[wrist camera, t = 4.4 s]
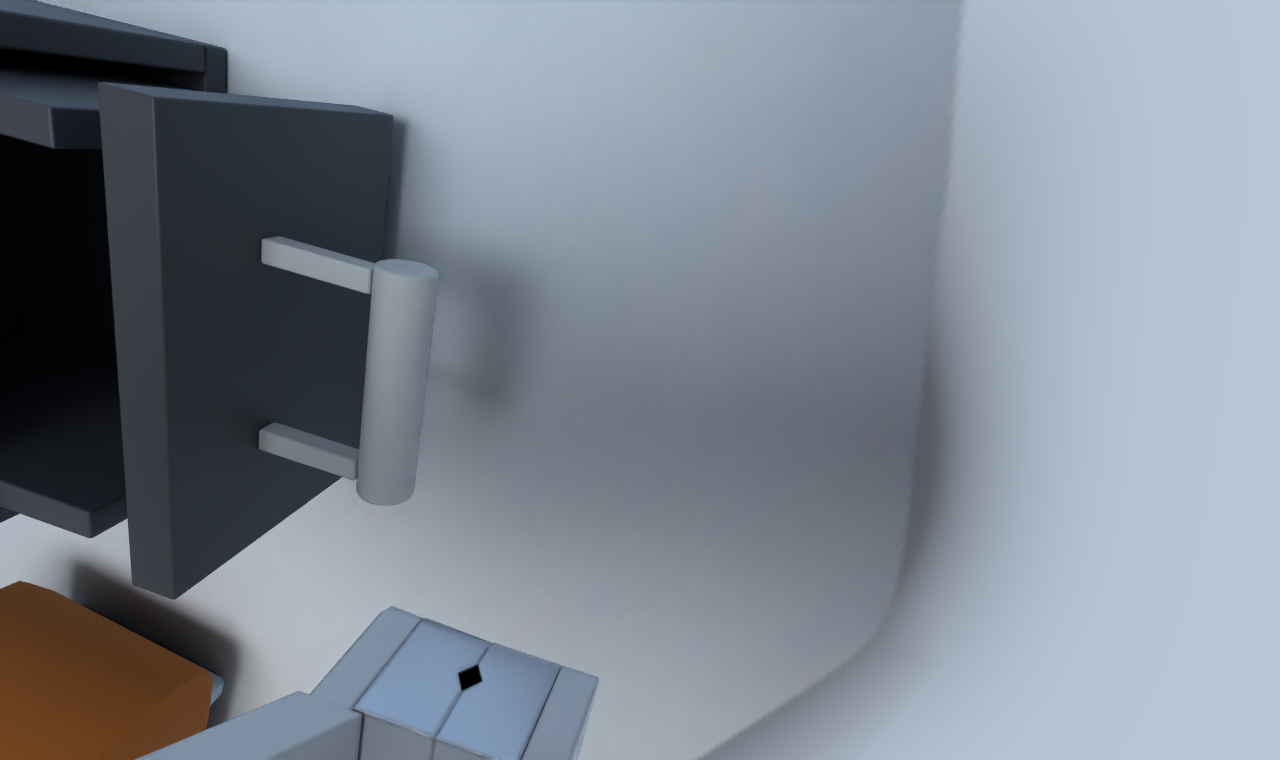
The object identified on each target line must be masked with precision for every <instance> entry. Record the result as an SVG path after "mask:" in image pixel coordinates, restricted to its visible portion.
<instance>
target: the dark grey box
mask: <svg viewBox="0 0 1280 760" xmlns="http://www.w3.org/2000/svg"><path fill="white" fill-rule="evenodd" d="M0 48H2V49H10V50H18V51H26V52H35V53H43V54H51V55H59V56H63V57H66V58H70V59H74V60H78V61H82V62H86V63H89V64H93V65H97V66H101V67H105V68H109V69H112V70H116V71H120V72H124V73H128V74H132V75H135V76H139V77H143V78H147V79H151V80H155V81H158V82H162V83H166V84H170V85H174V86H178V87H181V88H185V89H189V90H193V91H202V92H213V93H223V94H226V52H225V49H223V48H222V47H218V46H214V45H210V44H206V43H202V42H198V41H194V40H190V39H186V38H182V37H178V36H174V35H170V34H166V33H162V32H158V31H154V30H150V29H146V28H142V27H138V26H134V25H130V24H126V23H122V22H118V21H114V20H110V19H106V18H102V17H98V16H94V15H90V14H86V13H82V12H78V11H74V10H70V9H66V8H62V7H58V6H54V5H50V4H46V3H42V2H38V1H34V0H0ZM18 514H20V513H18V512H15V511H12V510H9V509H7V508H4V507H1V506H0V523H1V522H3V521H5V520H7V519H9V518H11V517H13V516H15V515H18Z"/></svg>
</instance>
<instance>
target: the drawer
mask: <svg viewBox="0 0 1280 760" xmlns="http://www.w3.org/2000/svg"><path fill="white" fill-rule="evenodd" d="M392 127H393V116H392V115H390V114H386V113H383V112H379V111H375V110H371V109H367V108H363V107H359V106H352V105H341V104H331V103H320V102H309V101H299V100H288V99H277V98H266V97H256V96H245V95H234V94H223V93H213V92H202V91H193V90H189V89H185V88H181V87H178V86H174V85H170V84H166V83H162V82H158V81H155V80H151V79H147V78H143V77H139V76H135V75H132V74H128V73H124V72H120V71H116V70H112V69H109V68H105V67H101V66H97V65H93V64H89V63H86V62H82V61H78V60H74V59H70V58H66V57H63V56H59V55H51V54H43V53H35V52H26V51H18V50H10V49H2V48H0V506H1V507H4V508H7V509H9V510H12V511H15V512H18V513H21V514H23V515H26V516H29V517H32V518H34V519H37V520H40V521H43V522H46V523H48V524H51V525H54V526H57V527H60V528H62V529H65V530H68V531H71V532H73V533H76V534H79V535H82V536H85V537H87V538H93V537H95V536H97V535H99V534H100V533H102V532H104V531H106V530H108V529H109V528H111V527H113V526H115V525H116V524H118V523H120V522H122V521H124V520H125V519H127V518H128V528H129V543H130V557H131V572H132V584H133V585H135V586H138V587H140V588H143V589H146V590H149V591H151V592H154V593H157V594H160V595H162V596H165V597H168V598H171V599H176V598H178V597H179V596H181V595H182V594H183V593H185V592H186V591H187V590H189V589H190V588H191V587H193V586H194V585H196V584H197V583H198V582H200V581H201V580H202V579H204V578H205V577H206V576H208V575H209V574H211V573H212V572H213V571H215V570H216V569H217V568H219V567H220V566H221V565H223V564H224V563H226V562H227V561H228V560H230V559H231V558H232V557H234V556H235V555H236V554H238V553H239V552H241V551H242V550H243V549H245V548H246V547H247V546H249V545H250V544H251V543H253V542H254V541H256V540H257V539H258V538H260V537H261V536H262V535H264V534H265V533H266V532H268V531H269V530H271V529H272V528H273V527H275V526H276V525H277V524H279V523H280V522H281V521H283V520H284V519H285V518H287V517H288V516H290V515H291V514H292V513H294V512H295V511H296V510H298V509H299V508H300V507H302V506H303V505H305V504H306V503H307V502H309V501H310V500H311V499H313V498H314V497H315V496H317V495H318V494H320V493H321V492H322V491H324V490H325V489H326V488H328V487H329V486H330V485H332V484H333V483H335V482H336V481H337V480H339V479H340V478H341V477H345V478H348V479H351V480H356V479H357V486H356V490H357V493H358V495H359V496H360V498H362V499H363V500H364V501H366V502H369V503H371V504H376V505H395V504H399V503H402V502H404V501H406V500H408V499H409V498H410V497H411V496H412V494H413V492H414V486H415V477H416V468H417V460H418V451H419V442H420V434H421V425H422V416H423V408H424V399H425V390H426V382H427V373H428V364H429V356H430V347H431V338H432V330H433V321H434V312H435V303H436V295H437V286H438V277H439V274H438V271H437V270H436V269H434V268H433V267H431V266H428V265H426V264H423V263H420V262H415V261H410V260H402V259H386V260H382V248H383V236H384V224H385V212H386V200H387V187H388V175H389V163H390V151H391V139H392Z"/></svg>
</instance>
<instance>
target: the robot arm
mask: <svg viewBox="0 0 1280 760" xmlns="http://www.w3.org/2000/svg"><path fill="white" fill-rule="evenodd" d="M598 683H599V678H598V677H596V676H593V675H590V674H587V673H584V672H581V671H578V670H575V669H572V668H569V667H566V666H563V665H559V664H556V663H553V662H550V661H547V660H544V659H541V658H538V657H535V656H532V655H529V654H526V653H523V652H520V651H517V650H514V649H511V648H508V647H505V646H502V645H499V644H496V643H491V642H489V641H486V640H483V639H481V638H478V637H475V636H473V635H470V634H467V633H465V632H462V631H459V630H457V629H454V628H451V627H449V626H446V625H443V624H441V623H438V622H435V621H433V620H430V619H427V618H422V617H420V616H417V615H414V614H412V613H409V612H406V611H404V610H401V609H398V608H396V607H393V606H391V607H389V608H388V609H386V610H384V611H382V612H381V613H380V614H379V615H378V616H377V617H376V619H375V620H374V621H373V622H372V623H371V624H370V625H369V627H368V628H367V629H366V630H365V631H364V632H363V633H362V635H361V636H360V637H359V638H358V639H357V640H356V642H355V643H354V644H353V645H352V646H351V647H350V648H349V650H348V651H347V652H346V653H345V654H344V655H343V657H342V658H341V659H340V660H339V661H338V662H337V663H336V665H335V666H334V667H333V668H332V669H331V670H330V672H329V673H328V674H327V675H326V676H325V677H324V678H323V680H322V681H321V682H320V683H319V684H318V685H317V687H316V688H315V689H314V690H313V691H312V692H311V693H310V695H309V694H306V693H303V692H300V691H297V692H295V693H293V694H290V695H288V696H286V697H283V698H281V699H278V700H276V701H274V702H271V703H269V704H266V705H264V706H262V707H259V708H257V709H254V710H252V711H250V712H247V713H245V714H243V715H240V716H238V717H235V718H233V719H231V720H228V721H226V722H223V723H221V724H219V725H216V726H214V727H211V728H209V729H207V730H204V731H202V732H200V733H197V734H195V735H192V736H190V737H188V738H185V739H183V740H180V741H178V742H176V743H173V744H171V745H168V746H166V747H164V748H161V749H159V750H157V751H154V752H152V753H149V754H147V755H145V756H142V757H140V758H137V759H135V760H577V758H578V755H579V752H580V748H581V745H582V741H583V738H584V734H585V730H586V727H587V723H588V720H589V716H590V712H591V709H592V705H593V702H594V698H595V694H596V691H597V687H598Z"/></svg>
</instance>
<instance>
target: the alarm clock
mask: <svg viewBox="0 0 1280 760" xmlns="http://www.w3.org/2000/svg"><path fill="white" fill-rule="evenodd" d="M223 684H224V682H223V678H222V677H220V676H218V675H216V674H214V673H212V672H210V671H208V670H206V669H204V668H202V667H200V666H199V665H197V664H195V663H193V662H191V661H189V660H187V659H185V658H183V657H181V656H179V655H177V654H175V653H173V652H171V651H169V650H168V649H166V648H164V647H162V646H160V645H158V644H156V643H154V642H152V641H150V640H148V639H146V638H144V637H142V636H140V635H139V634H137V633H135V632H133V631H131V630H129V629H127V628H125V627H123V626H121V625H119V624H117V623H115V622H113V621H111V620H110V619H108V618H106V617H104V616H102V615H100V614H98V613H96V612H94V611H92V610H90V609H88V608H86V607H84V606H82V605H80V604H78V603H76V602H74V601H73V600H71V599H69V598H67V597H65V596H63V595H61V594H59V593H57V592H55V591H53V590H49V589H46V588H43V587H40V586H37V585H34V584H30V583H27V582H22V581H18V582H16V583H13V584H11V585H9V586H6V587H4V588H1V589H0V760H135V759H137V758H140V757H142V756H145V755H147V754H149V753H152V752H154V751H157V750H159V749H161V748H164V747H166V746H168V745H171V744H173V743H176V742H178V741H180V740H183V739H185V738H188V737H190V736H192V735H195V734H197V733H200V732H202V731H204V730H206V728H207V723H208V718H209V710H210V706H211V705H212V703H213V702H214V701H215V700H216V699H217V698H218V697H219V696H220V695H221V694H222V689H223Z"/></svg>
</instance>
